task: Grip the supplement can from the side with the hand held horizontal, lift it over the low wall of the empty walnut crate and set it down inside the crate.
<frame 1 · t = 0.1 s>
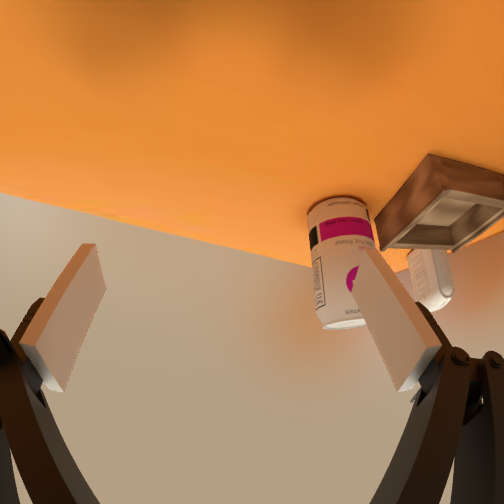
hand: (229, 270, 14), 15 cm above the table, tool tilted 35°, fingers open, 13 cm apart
crate: (440, 196, 35), on the table
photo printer: (423, 244, 51), on the table
supplement can: (336, 210, 39), on the table
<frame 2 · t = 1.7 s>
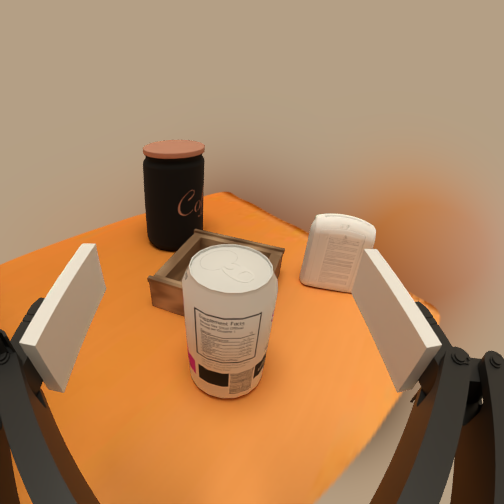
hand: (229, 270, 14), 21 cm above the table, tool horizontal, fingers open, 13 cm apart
crate: (220, 289, 46), on the table
coffee jar: (175, 239, 57), on the table
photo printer: (329, 284, 49), on the table
supplement can: (225, 372, 33), on the table
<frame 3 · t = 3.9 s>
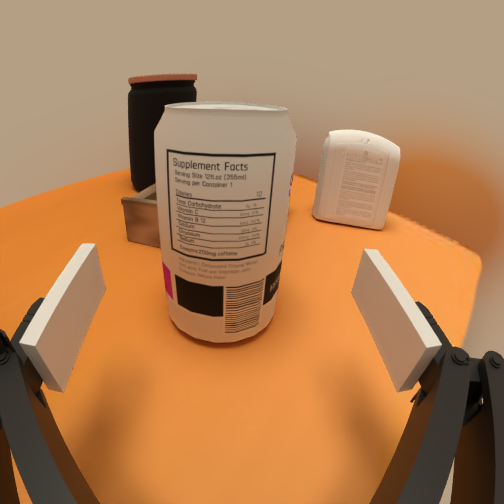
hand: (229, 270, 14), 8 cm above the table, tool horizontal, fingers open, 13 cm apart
crate: (215, 223, 36), on the table
coffee jar: (163, 185, 48), on the table
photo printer: (348, 222, 40), on the table
supplement can: (221, 311, 24), on the table
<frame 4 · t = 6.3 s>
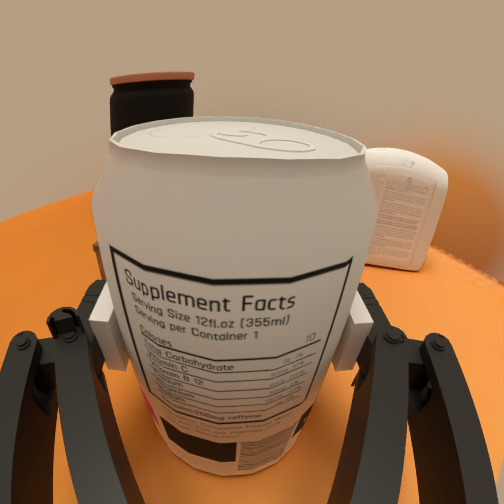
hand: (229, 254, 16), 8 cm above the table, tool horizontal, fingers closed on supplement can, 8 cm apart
coffee jar: (155, 207, 40), on the table
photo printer: (379, 260, 32), on the table
supplement can: (228, 417, 16), on the table, touching gripper
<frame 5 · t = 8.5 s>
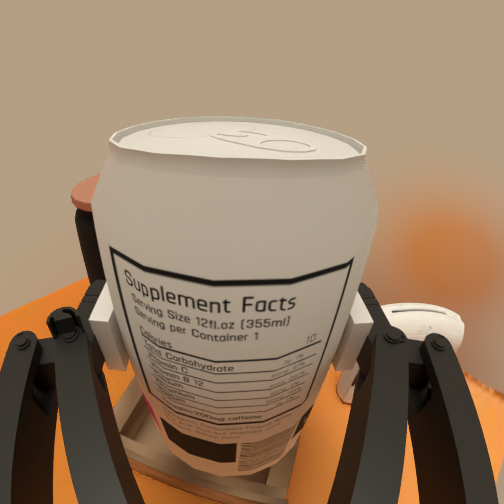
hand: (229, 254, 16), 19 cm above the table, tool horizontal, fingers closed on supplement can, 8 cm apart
crate: (214, 425, 25), on the table
coffee jar: (143, 320, 37), on the table
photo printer: (378, 392, 29), on the table
supplement can: (229, 417, 16), point 11 cm above the table, touching gripper
when the fingers open (10 cm above the table, at t = 10.9 s): supplement can drops 1 cm, resting on crate.
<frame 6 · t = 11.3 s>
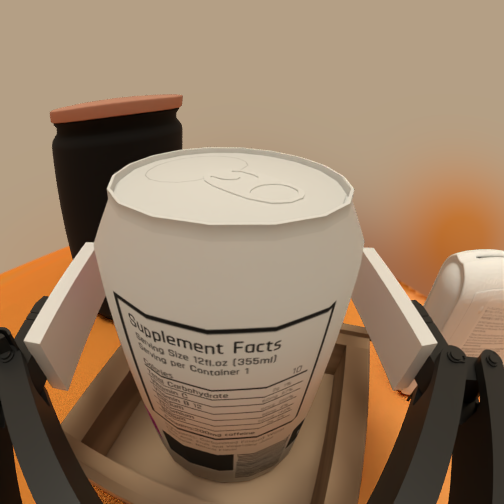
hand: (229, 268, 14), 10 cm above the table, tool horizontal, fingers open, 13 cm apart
crate: (228, 432, 17), on the table
coffee jar: (135, 291, 29), on the table
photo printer: (439, 380, 20), on the table
supplement can: (227, 426, 16), point 1 cm above the table, touching crate
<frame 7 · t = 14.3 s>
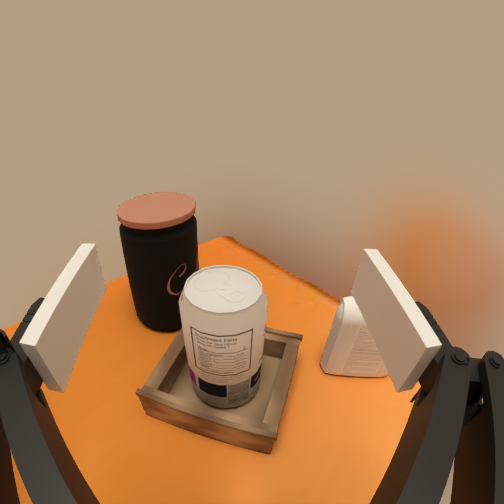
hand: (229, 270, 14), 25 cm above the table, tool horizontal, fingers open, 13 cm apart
crate: (226, 387, 35), on the table
coffee jar: (169, 311, 47), on the table
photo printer: (354, 367, 39), on the table
supplement can: (225, 383, 35), point 1 cm above the table, touching crate
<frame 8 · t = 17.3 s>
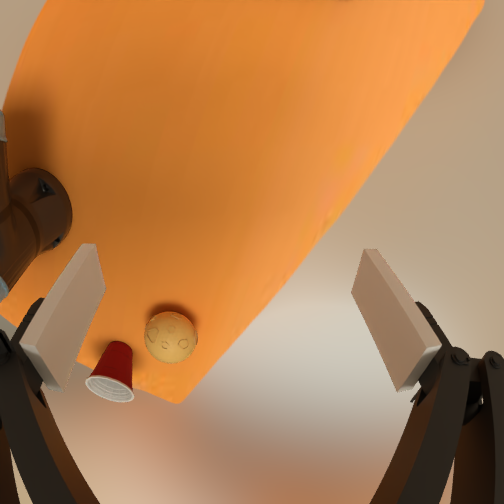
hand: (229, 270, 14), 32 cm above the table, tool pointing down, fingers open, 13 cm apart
stress ball: (174, 318, 58), on the table
plastic cup: (120, 349, 62), on the table
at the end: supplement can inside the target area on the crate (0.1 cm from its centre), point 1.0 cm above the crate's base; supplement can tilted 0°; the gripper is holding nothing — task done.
